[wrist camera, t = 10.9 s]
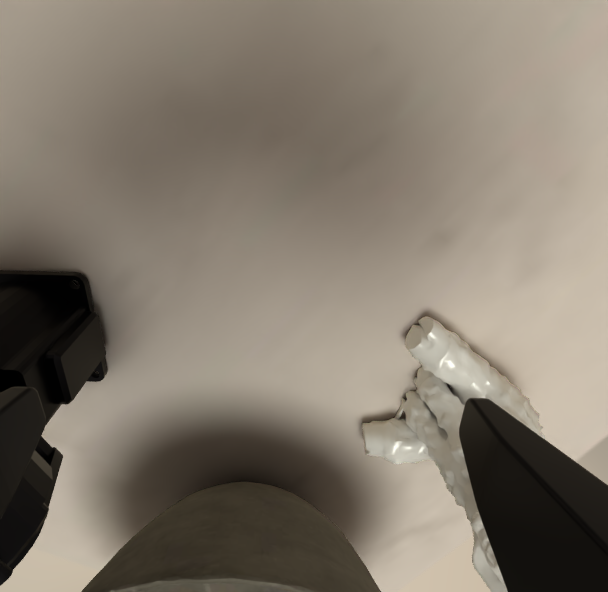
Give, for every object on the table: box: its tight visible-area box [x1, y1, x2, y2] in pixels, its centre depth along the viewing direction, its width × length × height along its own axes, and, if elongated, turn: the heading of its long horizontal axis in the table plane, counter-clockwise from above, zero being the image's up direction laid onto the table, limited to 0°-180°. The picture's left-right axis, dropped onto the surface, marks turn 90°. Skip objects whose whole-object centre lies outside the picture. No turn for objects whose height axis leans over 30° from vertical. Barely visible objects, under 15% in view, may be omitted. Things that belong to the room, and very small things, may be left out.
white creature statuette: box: [362, 316, 545, 592], centre depth 20 cm, size 10×9×12 cm
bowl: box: [82, 482, 381, 592], centre depth 26 cm, size 19×19×10 cm
